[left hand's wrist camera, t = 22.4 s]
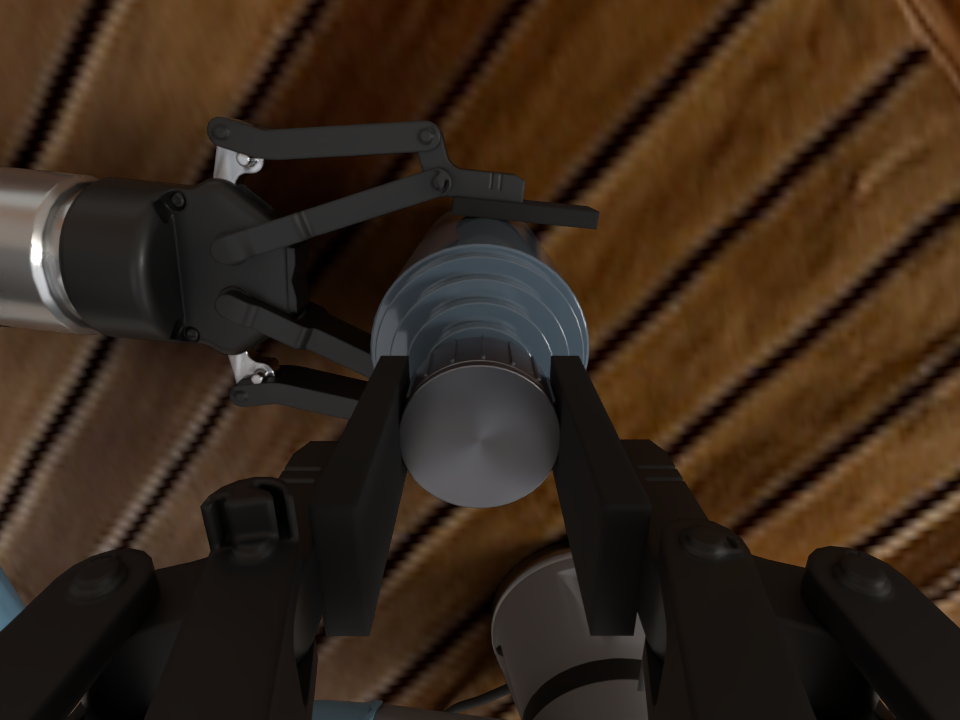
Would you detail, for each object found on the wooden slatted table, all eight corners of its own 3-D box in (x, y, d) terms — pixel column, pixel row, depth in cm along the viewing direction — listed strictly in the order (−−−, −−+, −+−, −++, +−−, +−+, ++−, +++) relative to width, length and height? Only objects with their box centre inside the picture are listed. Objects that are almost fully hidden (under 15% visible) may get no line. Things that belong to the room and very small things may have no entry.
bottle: (395, 237, 31) (271, 360, 13) (511, 179, 30) (561, 222, 12) (451, 345, 34) (417, 580, 15) (561, 296, 32) (668, 485, 14)
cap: (405, 330, 14) (393, 359, 12) (559, 336, 14) (572, 366, 12) (407, 462, 15) (396, 507, 13) (546, 467, 15) (555, 512, 13)
